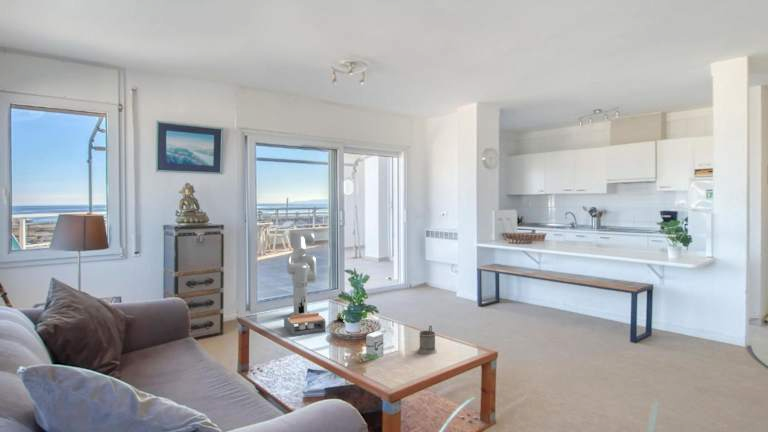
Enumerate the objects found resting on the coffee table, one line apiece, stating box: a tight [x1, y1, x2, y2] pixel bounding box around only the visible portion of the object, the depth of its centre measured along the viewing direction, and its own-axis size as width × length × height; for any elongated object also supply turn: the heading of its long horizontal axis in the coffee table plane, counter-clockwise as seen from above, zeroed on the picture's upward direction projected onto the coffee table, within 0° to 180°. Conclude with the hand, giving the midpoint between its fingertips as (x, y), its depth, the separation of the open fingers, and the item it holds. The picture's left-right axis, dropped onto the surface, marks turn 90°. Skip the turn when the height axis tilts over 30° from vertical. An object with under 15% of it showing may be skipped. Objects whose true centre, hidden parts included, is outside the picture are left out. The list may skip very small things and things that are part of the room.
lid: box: [288, 312, 326, 325], centre depth 258 cm, size 10×20×3 cm, turn 116°
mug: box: [417, 324, 437, 355], centre depth 225 cm, size 14×10×12 cm
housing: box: [283, 315, 327, 337], centre depth 263 cm, size 23×20×7 cm
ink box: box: [365, 330, 384, 361], centre depth 215 cm, size 9×5×12 cm, turn 143°
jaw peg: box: [297, 323, 306, 331], centre depth 256 cm, size 4×4×6 cm
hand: (301, 312), depth 270 cm, fingers closed
